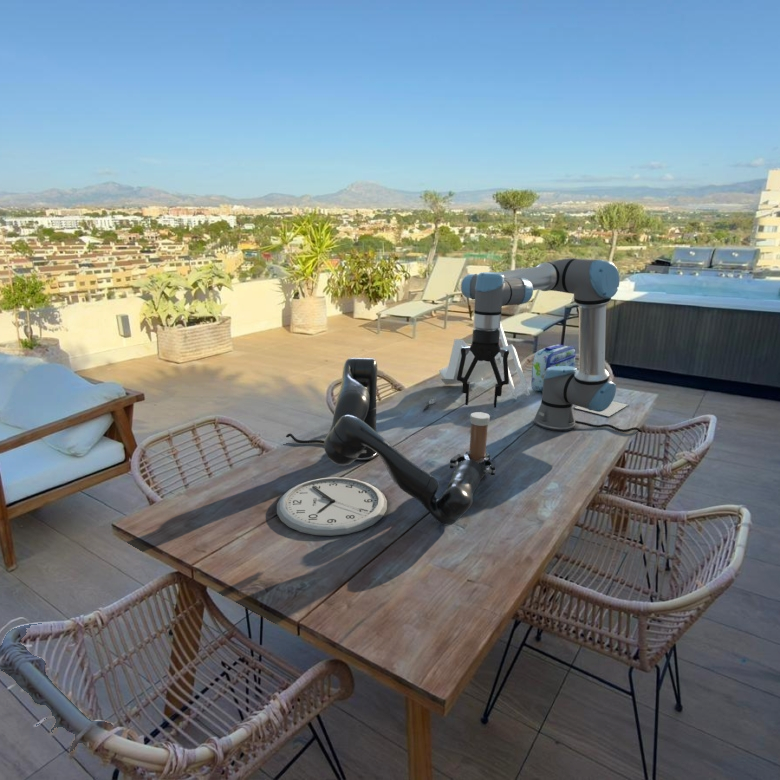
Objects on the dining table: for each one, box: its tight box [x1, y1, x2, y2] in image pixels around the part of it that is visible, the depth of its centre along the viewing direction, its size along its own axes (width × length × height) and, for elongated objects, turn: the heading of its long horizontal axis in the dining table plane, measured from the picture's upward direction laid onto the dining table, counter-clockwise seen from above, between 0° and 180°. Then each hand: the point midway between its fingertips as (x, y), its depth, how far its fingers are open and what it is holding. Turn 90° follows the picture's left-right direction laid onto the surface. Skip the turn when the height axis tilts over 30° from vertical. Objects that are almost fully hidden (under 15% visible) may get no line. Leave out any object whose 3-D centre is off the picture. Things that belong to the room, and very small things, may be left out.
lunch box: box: [530, 344, 577, 392], centre depth 247 cm, size 26×11×21 cm, turn 134°
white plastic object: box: [438, 321, 531, 400], centre depth 245 cm, size 37×45×31 cm
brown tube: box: [468, 422, 489, 480], centre depth 158 cm, size 5×5×19 cm
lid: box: [469, 411, 491, 426], centre depth 156 cm, size 6×6×2 cm
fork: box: [422, 395, 437, 412], centre depth 223 cm, size 3×16×2 cm, turn 160°
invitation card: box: [573, 400, 629, 418], centre depth 226 cm, size 21×1×15 cm
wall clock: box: [276, 476, 388, 537], centre depth 142 cm, size 30×2×30 cm
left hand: (478, 454), depth 162 cm, fingers closed on brown tube, 5 cm apart
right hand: (480, 404), depth 154 cm, fingers open, 7 cm apart
